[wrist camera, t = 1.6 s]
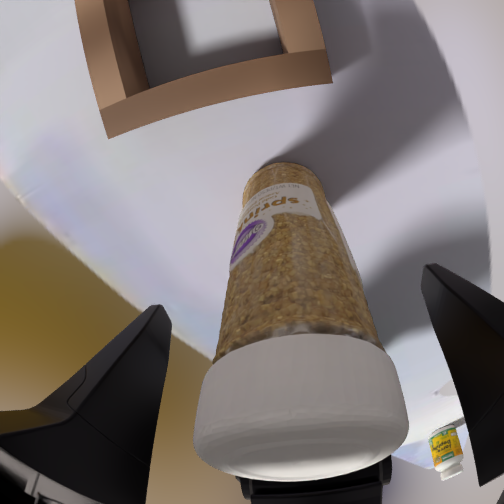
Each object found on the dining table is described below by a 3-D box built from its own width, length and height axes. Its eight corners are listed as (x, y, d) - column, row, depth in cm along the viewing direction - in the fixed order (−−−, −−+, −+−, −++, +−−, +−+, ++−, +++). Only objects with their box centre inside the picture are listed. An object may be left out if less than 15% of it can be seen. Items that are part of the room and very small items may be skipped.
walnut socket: (320, 83, 12) (333, 83, 10) (134, 128, 14) (108, 139, 12) (275, -72, 7) (276, -98, 5) (99, -17, 9) (71, -28, 6)
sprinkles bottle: (263, 146, 14) (241, 401, 3) (339, 183, 15) (455, 425, 4) (229, 218, 17) (169, 468, 5) (300, 248, 18) (326, 488, 6)
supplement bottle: (435, 438, 37) (445, 480, 29) (422, 437, 36) (432, 483, 28) (458, 424, 35) (470, 468, 27) (447, 423, 34) (460, 470, 25)
